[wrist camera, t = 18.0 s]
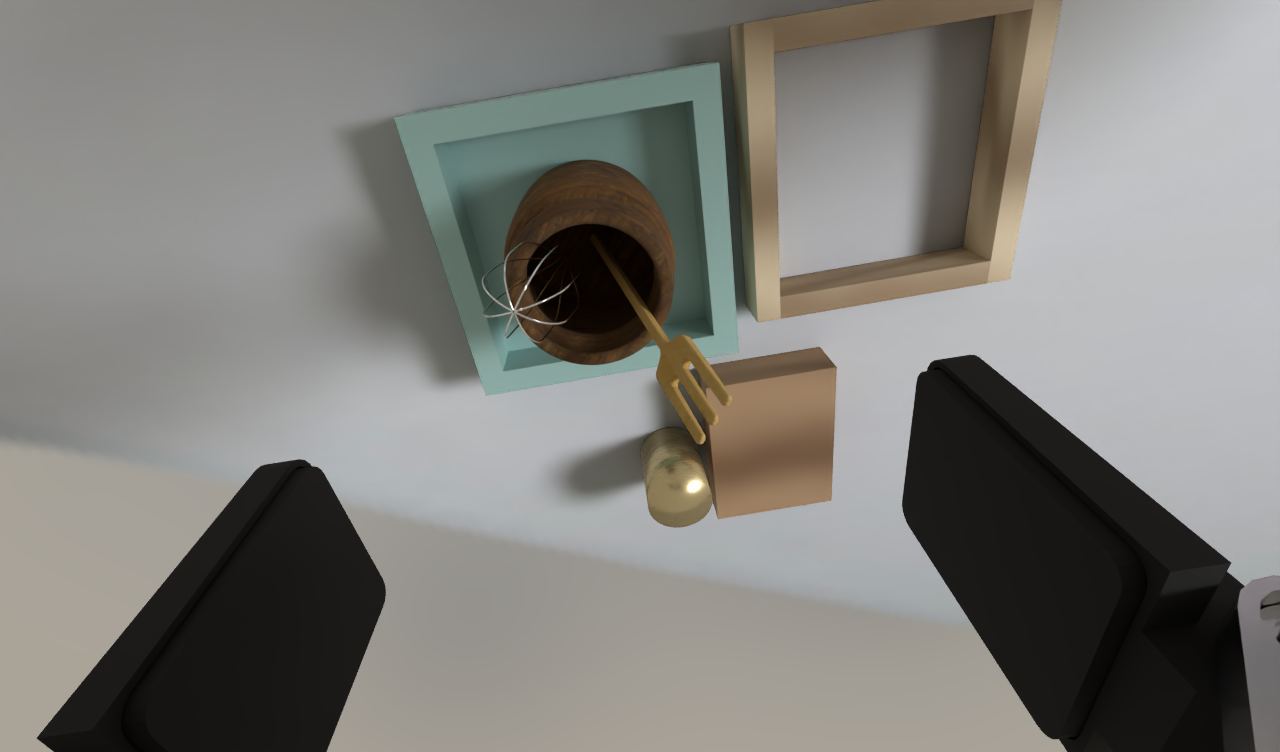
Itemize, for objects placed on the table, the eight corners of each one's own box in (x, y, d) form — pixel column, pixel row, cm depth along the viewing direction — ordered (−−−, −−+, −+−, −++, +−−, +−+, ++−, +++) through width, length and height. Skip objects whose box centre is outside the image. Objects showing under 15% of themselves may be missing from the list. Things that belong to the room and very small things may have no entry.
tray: (413, 112, 21) (393, 117, 19) (705, 62, 21) (719, 62, 19) (494, 368, 26) (486, 395, 24) (726, 328, 26) (738, 352, 24)
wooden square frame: (729, 26, 21) (743, 23, 19) (1027, -25, 21) (1068, -32, 19) (746, 305, 26) (757, 322, 24) (981, 264, 26) (1009, 279, 24)
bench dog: (636, 433, 29) (643, 483, 25) (694, 423, 29) (709, 472, 25) (644, 478, 30) (652, 532, 27) (699, 468, 30) (715, 521, 27)
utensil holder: (550, 125, 21) (517, 188, 11) (694, 203, 23) (787, 322, 12) (493, 263, 23) (419, 426, 13) (627, 324, 25) (658, 510, 15)
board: (696, 362, 28) (705, 388, 26) (816, 343, 28) (836, 367, 26) (708, 487, 32) (718, 519, 29) (814, 470, 32) (831, 500, 30)
